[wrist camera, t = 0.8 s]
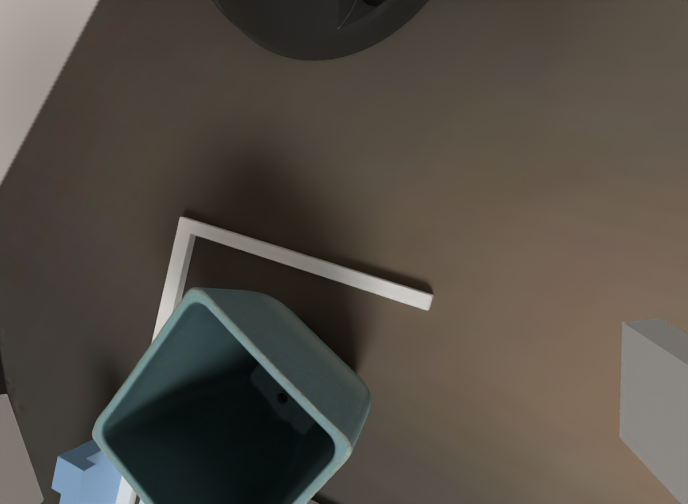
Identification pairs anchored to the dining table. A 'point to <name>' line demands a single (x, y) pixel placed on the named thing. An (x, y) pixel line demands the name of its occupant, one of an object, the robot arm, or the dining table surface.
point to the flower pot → (233, 406)
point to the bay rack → (87, 459)
